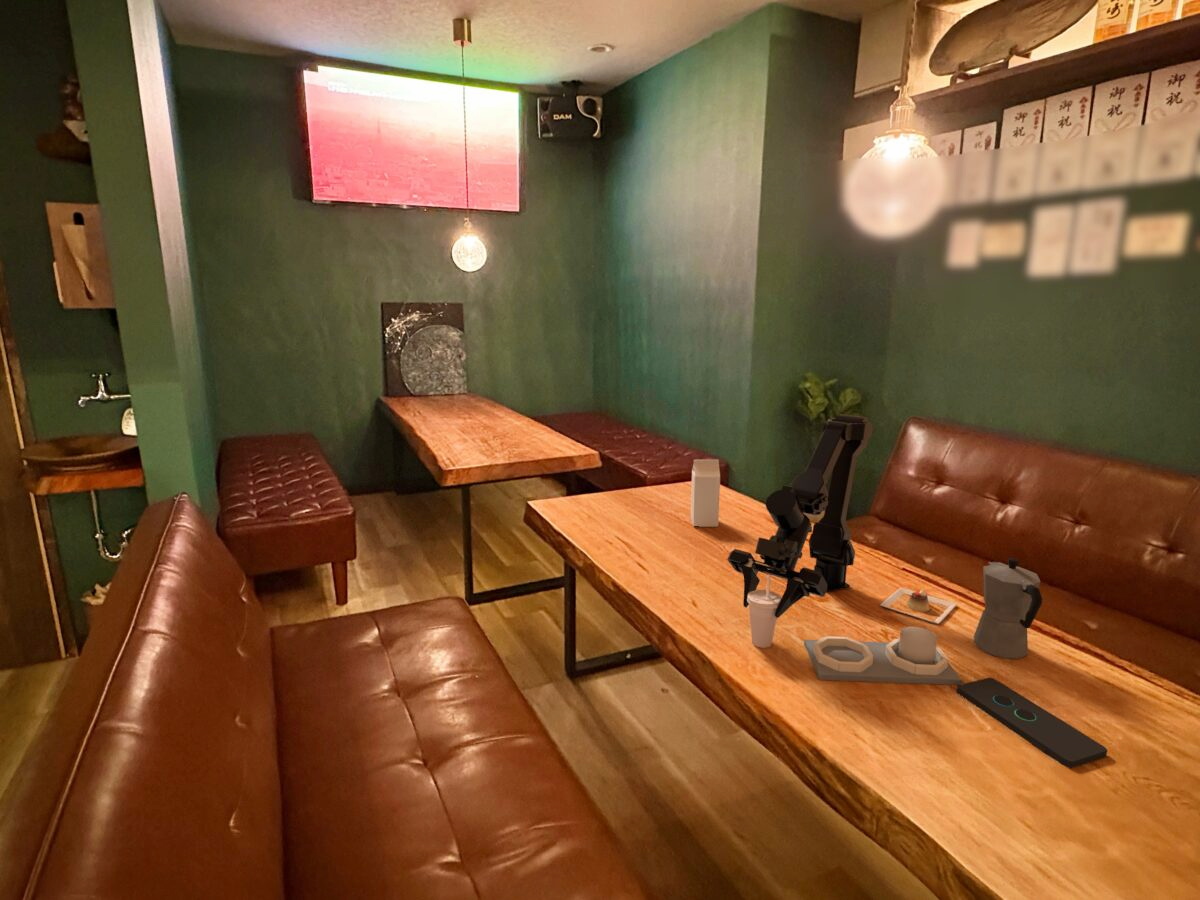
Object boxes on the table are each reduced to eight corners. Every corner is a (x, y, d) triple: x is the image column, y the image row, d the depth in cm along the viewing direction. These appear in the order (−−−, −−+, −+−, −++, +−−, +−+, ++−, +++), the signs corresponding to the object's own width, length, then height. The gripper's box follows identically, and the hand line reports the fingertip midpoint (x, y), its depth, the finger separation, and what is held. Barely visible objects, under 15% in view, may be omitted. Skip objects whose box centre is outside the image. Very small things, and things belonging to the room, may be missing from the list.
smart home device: (992, 675, 116) (1110, 748, 98) (990, 684, 117) (1108, 758, 98) (954, 685, 114) (1069, 761, 95) (953, 694, 114) (1067, 772, 96)
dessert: (878, 609, 144) (881, 589, 143) (899, 591, 152) (902, 572, 151) (938, 628, 136) (941, 607, 135) (957, 608, 144) (959, 588, 143)
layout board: (819, 679, 117) (821, 648, 116) (804, 644, 129) (806, 615, 128) (961, 684, 116) (965, 653, 114) (932, 648, 127) (936, 619, 126)
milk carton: (718, 527, 192) (720, 463, 188) (693, 527, 192) (695, 463, 188) (714, 518, 199) (716, 456, 194) (690, 518, 199) (692, 456, 195)
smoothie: (779, 653, 126) (784, 584, 123) (744, 649, 127) (748, 581, 124) (777, 636, 132) (782, 570, 129) (744, 633, 133) (748, 567, 130)
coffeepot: (957, 629, 134) (968, 545, 130) (1004, 629, 134) (1017, 545, 130) (1001, 672, 120) (1016, 578, 115) (1054, 672, 119) (1071, 578, 115)
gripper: (734, 510, 133) (702, 580, 127) (826, 531, 121) (796, 609, 115) (751, 536, 140) (722, 603, 135) (839, 559, 129) (811, 633, 123)
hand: (760, 611), depth 127 cm, fingers closed on smoothie, 6 cm apart
